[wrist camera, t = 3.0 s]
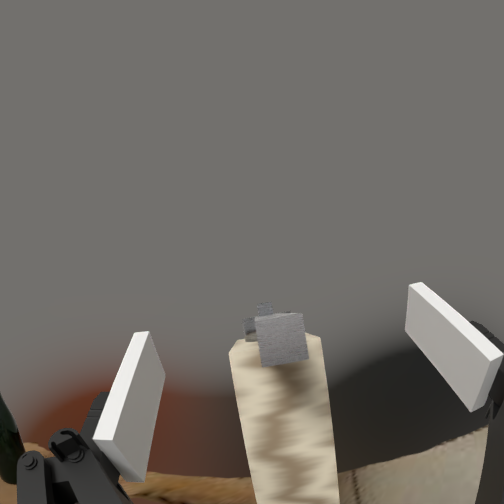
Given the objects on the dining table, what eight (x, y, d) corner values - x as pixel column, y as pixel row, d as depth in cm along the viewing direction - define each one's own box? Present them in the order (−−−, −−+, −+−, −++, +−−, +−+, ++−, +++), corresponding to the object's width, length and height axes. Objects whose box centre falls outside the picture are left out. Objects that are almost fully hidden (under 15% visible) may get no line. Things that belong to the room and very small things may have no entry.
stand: (322, 512, 39) (298, 329, 46) (343, 567, 24) (320, 337, 30) (270, 521, 39) (237, 339, 46) (275, 580, 23) (228, 353, 30)
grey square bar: (291, 332, 44) (285, 300, 45) (335, 353, 19) (323, 283, 20) (245, 339, 44) (240, 307, 45) (234, 371, 19) (223, 299, 20)
